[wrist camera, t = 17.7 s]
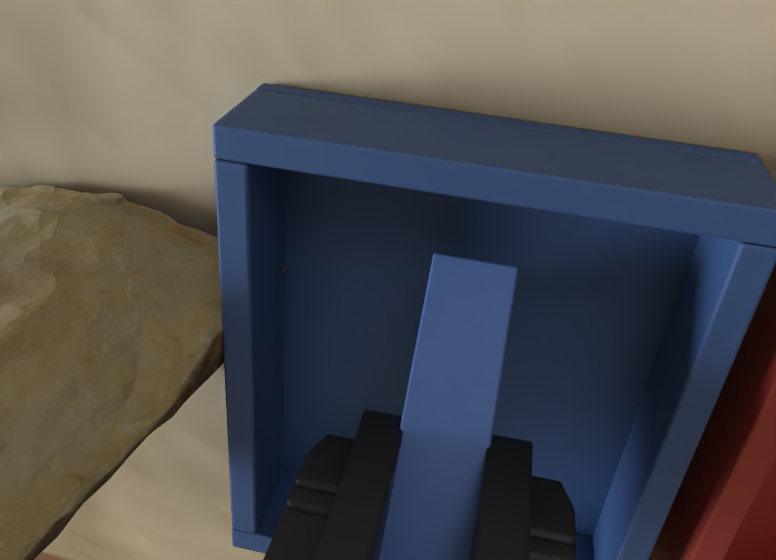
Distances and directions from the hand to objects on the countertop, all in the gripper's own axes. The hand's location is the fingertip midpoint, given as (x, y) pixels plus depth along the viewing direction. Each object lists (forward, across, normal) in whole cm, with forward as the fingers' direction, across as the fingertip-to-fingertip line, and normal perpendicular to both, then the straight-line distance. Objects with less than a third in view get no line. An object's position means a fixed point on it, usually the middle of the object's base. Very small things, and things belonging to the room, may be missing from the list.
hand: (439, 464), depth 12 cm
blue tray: (+4, 0, 0) cm, 4 cm away
